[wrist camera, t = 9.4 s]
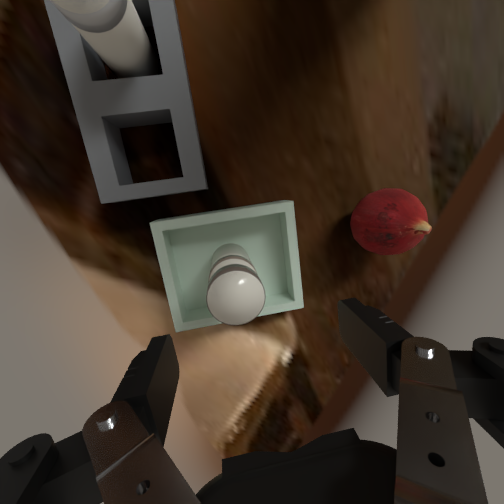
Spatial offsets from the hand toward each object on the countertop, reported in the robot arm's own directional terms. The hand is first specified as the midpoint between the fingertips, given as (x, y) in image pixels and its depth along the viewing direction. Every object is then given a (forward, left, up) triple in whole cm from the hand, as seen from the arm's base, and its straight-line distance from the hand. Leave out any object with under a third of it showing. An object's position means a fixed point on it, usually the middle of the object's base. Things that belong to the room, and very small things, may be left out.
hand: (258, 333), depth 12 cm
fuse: (+6, -18, -14) cm, 23 cm away
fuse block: (+6, -14, -14) cm, 20 cm away
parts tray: (+1, 0, -14) cm, 14 cm away
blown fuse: (+1, 0, -13) cm, 13 cm away
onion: (-13, -2, -14) cm, 19 cm away
